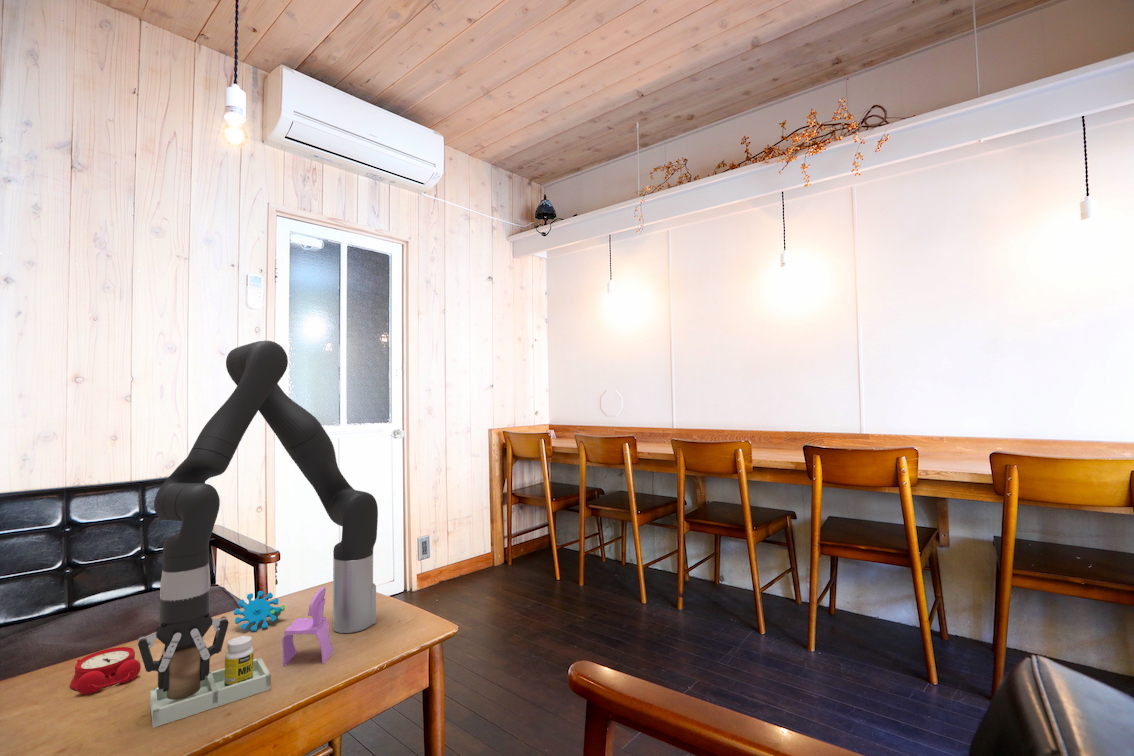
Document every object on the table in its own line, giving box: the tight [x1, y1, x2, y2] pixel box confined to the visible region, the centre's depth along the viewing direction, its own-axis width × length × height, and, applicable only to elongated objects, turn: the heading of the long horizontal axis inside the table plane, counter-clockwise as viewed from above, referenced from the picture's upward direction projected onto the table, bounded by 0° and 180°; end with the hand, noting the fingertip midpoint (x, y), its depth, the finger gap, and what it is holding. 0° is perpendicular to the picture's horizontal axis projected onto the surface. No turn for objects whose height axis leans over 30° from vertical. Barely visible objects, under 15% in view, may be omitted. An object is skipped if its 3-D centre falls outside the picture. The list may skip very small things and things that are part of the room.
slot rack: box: [149, 657, 272, 729], centre depth 100 cm, size 18×9×3 cm, turn 131°
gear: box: [233, 590, 286, 632], centre depth 132 cm, size 11×6×10 cm
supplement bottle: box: [224, 635, 254, 687], centre depth 103 cm, size 5×5×8 cm
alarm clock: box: [70, 646, 142, 696], centre depth 107 cm, size 10×6×15 cm
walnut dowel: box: [167, 644, 201, 700], centre depth 97 cm, size 5×5×8 cm
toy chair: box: [281, 585, 335, 667], centre depth 115 cm, size 8×9×15 cm
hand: (183, 683), depth 97 cm, fingers closed on walnut dowel, 5 cm apart
